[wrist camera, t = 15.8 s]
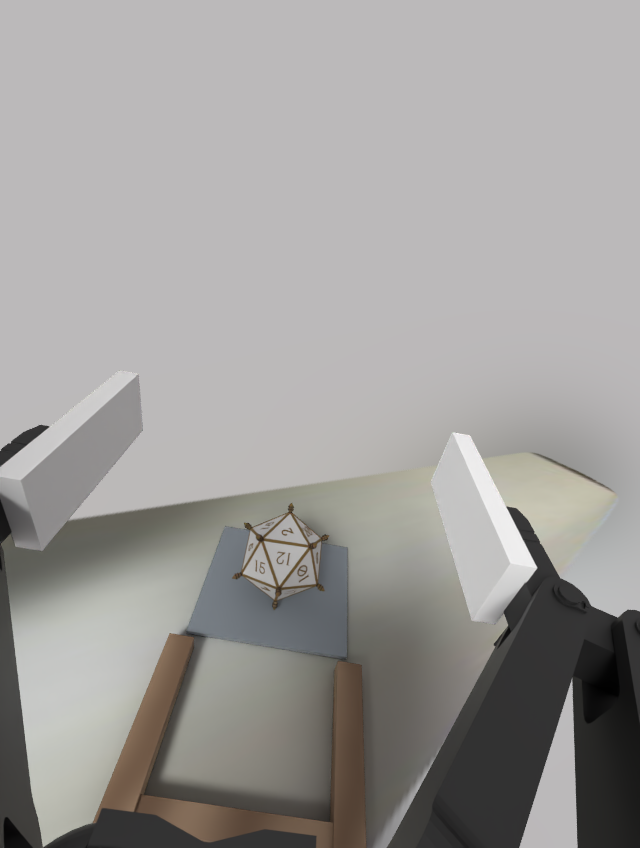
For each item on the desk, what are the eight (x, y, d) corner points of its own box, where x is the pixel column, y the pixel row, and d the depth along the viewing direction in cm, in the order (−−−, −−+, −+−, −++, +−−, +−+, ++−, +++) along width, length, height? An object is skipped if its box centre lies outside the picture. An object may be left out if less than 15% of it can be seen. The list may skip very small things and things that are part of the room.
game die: (268, 587, 42) (284, 495, 43) (336, 614, 37) (352, 510, 38) (205, 606, 34) (226, 493, 35) (281, 643, 30) (302, 512, 31)
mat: (186, 633, 33) (186, 630, 33) (224, 528, 43) (225, 526, 43) (346, 659, 34) (347, 657, 33) (346, 550, 44) (347, 547, 44)
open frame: (96, 830, 23) (93, 822, 22) (170, 643, 32) (169, 633, 31) (361, 868, 23) (366, 862, 23) (357, 673, 33) (361, 664, 32)
